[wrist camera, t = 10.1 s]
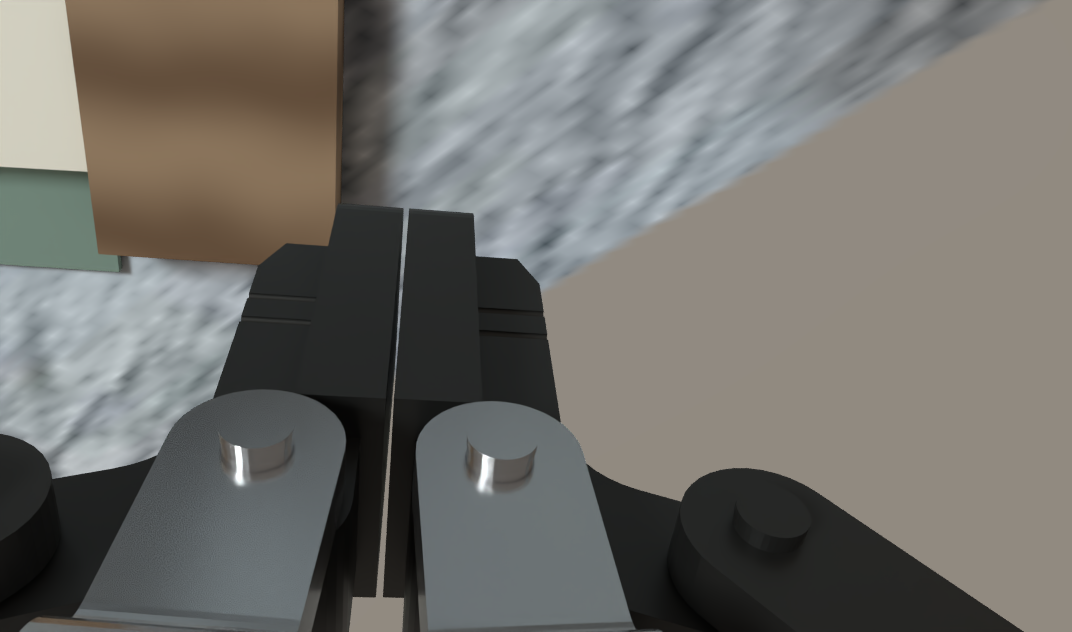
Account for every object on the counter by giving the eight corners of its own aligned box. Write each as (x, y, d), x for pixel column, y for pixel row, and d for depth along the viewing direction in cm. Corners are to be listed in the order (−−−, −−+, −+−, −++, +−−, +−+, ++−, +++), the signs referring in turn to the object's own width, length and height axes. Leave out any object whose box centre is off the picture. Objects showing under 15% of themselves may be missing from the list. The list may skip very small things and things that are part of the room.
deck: (64, -218, 31) (37, -212, 29) (347, -182, 32) (340, -174, 30) (117, 224, 40) (98, 254, 38) (340, 240, 41) (334, 269, 39)
